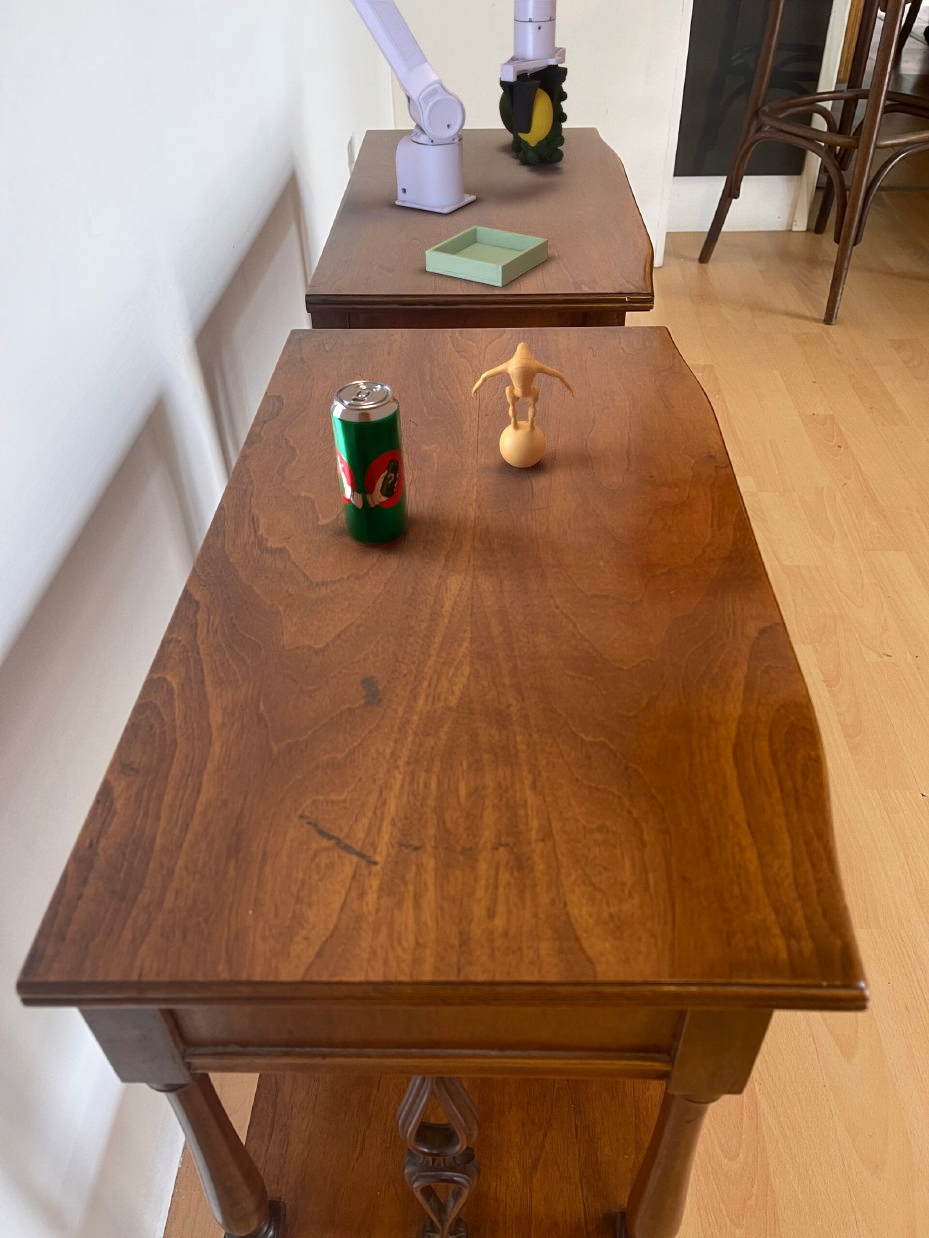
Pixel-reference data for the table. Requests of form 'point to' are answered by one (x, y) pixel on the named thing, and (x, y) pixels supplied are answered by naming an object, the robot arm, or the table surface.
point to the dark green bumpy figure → (544, 147)
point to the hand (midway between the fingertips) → (532, 128)
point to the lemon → (539, 119)
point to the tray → (487, 255)
